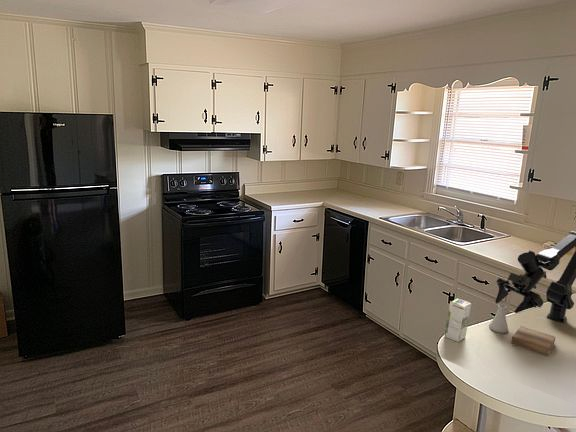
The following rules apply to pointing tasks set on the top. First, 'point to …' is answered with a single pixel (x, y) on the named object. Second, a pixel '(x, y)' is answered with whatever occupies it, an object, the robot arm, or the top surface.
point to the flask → (500, 320)
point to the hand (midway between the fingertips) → (505, 307)
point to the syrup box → (457, 320)
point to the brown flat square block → (533, 340)
